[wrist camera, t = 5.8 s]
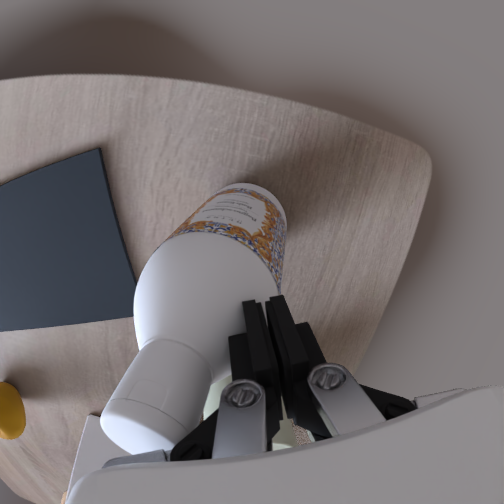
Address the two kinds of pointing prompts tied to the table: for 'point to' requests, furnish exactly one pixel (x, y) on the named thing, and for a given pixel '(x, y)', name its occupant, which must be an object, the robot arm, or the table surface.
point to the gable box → (93, 451)
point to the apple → (11, 412)
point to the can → (286, 432)
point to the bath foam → (195, 314)
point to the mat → (62, 248)
